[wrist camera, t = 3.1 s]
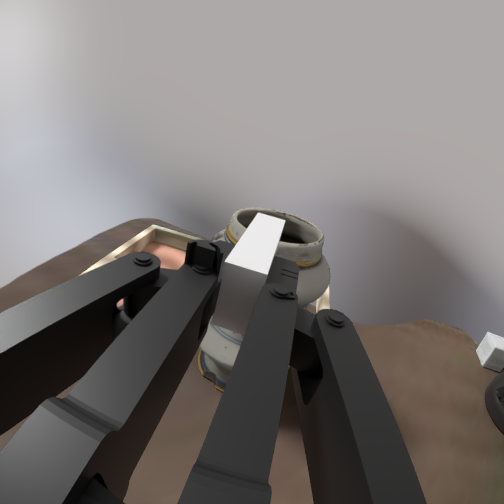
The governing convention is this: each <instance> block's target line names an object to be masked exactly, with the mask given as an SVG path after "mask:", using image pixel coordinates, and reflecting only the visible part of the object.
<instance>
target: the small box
mask: <svg viewBox="0 0 504 504" xmlns="http://www.w3.org/2000/svg"><path fill="white" fill-rule="evenodd" d="M476 352H477V354H478V357H479V359H480V362H481V365H482V367H485V368H488V369H492V370H495V371H498V372H501V370H502V369H503V368H504V338H502V337H500V336H497V335H495V334H492V333H490V332H487V334H486V336H485V337H484V339H483V341H482V342H481V344H480V345H479V347H478V348H477V350H476Z"/></svg>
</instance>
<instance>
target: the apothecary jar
mask: <svg viewBox="0 0 504 504" xmlns="http://www.w3.org/2000/svg"><path fill="white" fill-rule="evenodd" d="M258 212H259V213H262V214H266V215H269V216H272V217H276V218H279V219H282V220H285V224H284V227H283V231H282V234H281V237H280V241H279V244H278V248H277V251H276V254H275V256H277V257H281V258H284V259H287V260H291V261H294V262H296V263H297V265H298V267H299V276H298V284H297V291H296V294H297V295H298V303H299V304H300V306H301V307H303V308H304V309H305V310H306V307H307V305H308V304H309V303H311V302H314V301H315V300H317V299H318V298H320V297H321V296H322V295H323V294H324V293H325V291H326V290H327V288H328V286H329V283H330V269H329V266H328V263H327V261H326V259H325V257H324V256H323V254H322V246H323V243H324V234H323V232H322V231H321V230H320V229H319V228H318V227H316V226H315V225H314V224H312V223H310V222H309V221H307V220H305V219H302V218H300V217H298V216H295V215H293V214H290V213H286V212H282V211H278V210H273V209H267V208H243V209H240V210H238V211H236V212H235V213H234V214H233V216H232V218H231V221H230V224H229V225H228V226H227V228H226V229H224V230H222V231H221V232H219V233H218V234H216V235H215V236H214V237H213V238H212V240H211V241H212V242H216V241H219V240H222V241H225V242H228V243H232V244H235V245H236V244H237V242H238V241H239V240H240V238H241V237H242V235H243V234H244V232H245V231H246V229H247V228H248V227H249V225H250V224H251V222H252V221H253V219H254V218H255V216H256V215H257V214H258ZM212 316H213V315H212ZM211 321H212V317H211V319H210V321H209V325H208V330H207V333H206V335H205V336H204V338H203V340H202V342H201V344H200V347H201V350H200V353H199V355H198V365H199V369H200V371H201V373H202V375H203V376H204V377H206V378H208V379H210V380H212V381H213V383H214V386H215V388H217V389H218V390H220V391H222V392H223V391H224V389H225V386H226V383H227V381H228V378H229V375H230V373H231V370H232V367H233V365H234V362H235V359H236V357H237V354H238V351H239V349H240V346H241V343H242V340H243V338H244V335H243V334H240V333H237V332H234V331H231V330H228V329H225V328H222V327H219V326H216V325H213V324H211ZM289 367H291V366H289Z"/></svg>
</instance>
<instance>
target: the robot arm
mask: <svg viewBox="0 0 504 504" xmlns="http://www.w3.org/2000/svg"><path fill="white" fill-rule="evenodd" d="M284 224H285V220H282V219H279V218H276V217H272V216H269V215H266V214H262V213H259V212H258V214H257V215H256V216H255V218H254V219H253V221H252V222H251V224H250V225H249V227H248V228H247V229H246V231H245V232H244V234H243V235H242V237H241V238H240V240H239V241H238V242H237V244H236V245H235V244H232V243H228V242H225V241H222V240H219V241H216V242H212V241H208V240H199V239H197V240H191V241H189V242H188V243H187V249H186V255H185V261H184V264H183V265H182V266H181V267H180V268H179V269H178V270H176V269H167V268H160V266H161V261H160V259H159V258H158V257H157V256H156V255H154V254H151V253H149V252H144V251H141V252H133V253H130V254H127V255H125V256H123V257H120V258H118V259H116V260H113V261H111V262H109V263H107V264H104V265H102V266H100V267H98V268H95V269H93V270H91V271H89V272H86V273H84V274H82V275H80V276H77V277H75V278H73V279H71V280H69V281H67V282H64V283H62V284H60V285H58V286H56V287H54V288H51V289H49V290H47V291H45V292H43V293H41V294H39V295H37V296H35V297H33V298H30V299H28V300H26V301H24V302H22V303H20V304H18V305H16V306H14V307H12V308H10V309H8V310H6V311H4V312H2V313H0V435H2V434H3V433H5V432H7V431H8V430H9V429H11V428H12V427H14V426H15V425H16V424H18V423H19V422H21V421H22V420H23V419H25V418H26V417H28V416H29V415H30V414H32V413H33V414H32V415H31V416H30V417H29V418H28V420H27V421H26V422H25V423H24V424H23V426H22V427H21V428H20V429H19V430H18V432H17V433H16V434H15V435H14V437H13V438H12V439H11V440H10V442H9V443H8V444H7V445H6V447H5V448H4V449H3V450H2V452H1V453H0V504H125V503H124V502H123V499H124V497H125V495H126V492H127V489H128V485H129V480H130V477H131V475H132V473H133V471H134V469H135V467H136V465H137V463H138V461H139V459H140V458H141V456H142V454H143V452H144V450H145V448H146V446H147V444H148V442H149V440H150V439H151V437H152V435H153V433H154V431H155V429H156V427H157V425H158V423H159V421H160V420H161V418H162V416H163V414H164V412H165V410H166V408H167V406H168V404H169V403H170V401H171V399H172V397H173V395H174V393H175V391H176V389H177V387H178V386H179V384H180V382H181V380H182V378H183V376H184V374H185V372H186V370H187V369H188V367H189V365H190V363H191V361H192V359H193V357H194V355H195V353H196V352H197V350H198V348H199V346H200V344H201V342H202V340H203V338H204V336H205V335H206V333H207V330H208V325H209V321H210V319H211V317H212V321H211V324H213V325H216V326H219V327H222V328H225V329H228V330H231V331H234V332H237V333H240V334H243V335H244V338H243V340H242V343H241V346H240V349H239V351H238V354H237V357H236V359H235V362H234V365H233V367H232V370H231V373H230V375H229V378H228V381H227V383H226V386H225V389H224V391H223V394H222V397H221V399H220V402H219V404H218V407H217V410H216V412H215V415H214V418H213V420H212V423H211V425H210V428H209V430H208V433H207V436H206V438H205V441H204V443H203V446H202V448H201V451H200V453H199V456H198V458H197V461H196V463H195V464H194V466H193V468H192V470H191V472H190V475H189V477H188V479H187V482H186V484H185V487H184V489H183V492H182V494H181V496H180V499H179V501H178V504H270V501H271V494H272V492H271V486H270V485H269V484H268V479H269V473H270V468H271V463H272V458H273V453H274V448H275V443H276V438H277V433H278V427H279V422H280V416H281V411H282V405H283V399H284V393H285V387H286V381H287V375H288V369H289V366H291V367H292V371H291V374H292V379H293V385H294V390H295V396H296V402H297V407H298V413H299V418H300V424H301V430H302V436H303V441H304V447H305V453H306V459H307V465H308V471H309V477H310V483H311V489H312V495H313V501H314V504H427V503H426V500H425V497H424V495H423V492H422V489H421V486H420V483H419V480H418V478H417V475H416V472H415V469H414V467H413V464H412V461H411V459H410V456H409V453H408V451H407V448H406V446H405V443H404V441H403V438H402V435H401V433H400V430H399V428H398V425H397V423H396V421H395V418H394V416H393V413H392V411H391V408H390V406H389V404H388V401H387V399H386V397H385V394H384V392H383V390H382V387H381V385H380V383H379V380H378V378H377V376H376V374H375V371H374V369H373V367H372V365H371V362H370V360H369V358H368V356H367V354H366V351H365V349H364V347H363V345H362V343H361V341H360V338H359V336H358V334H357V332H356V330H355V328H354V326H353V324H352V322H351V321H350V319H349V318H348V317H347V316H345V315H344V314H343V313H341V312H339V311H337V310H332V309H321V310H319V311H318V312H317V313H316V315H315V314H313V313H311V312H309V311H307V310H305V309H304V308H303V307H301V306H300V304H299V303H298V295H297V294H296V291H297V284H298V276H299V267H298V265H297V263H296V262H294V261H291V260H287V259H284V258H281V257H277V256H275V254H276V251H277V248H278V244H279V241H280V237H281V234H282V231H283V227H284ZM122 299H123V305H121V306H120V307H117V303H118V302H119V301H120V300H122ZM212 315H213V316H212ZM82 377H83V378H82ZM81 378H82V379H81ZM79 379H81V380H80V381H79V382H78V384H77V385H76V386H75V387H74V388H73V390H72V391H71V392H70V393H69V394H68V395H67V396H66V397H65V398H63V399H60V398H56V396H57V395H58V394H60V393H61V392H62V391H64V390H65V389H67V388H68V387H69V386H71V385H72V384H74V383H75V382H76V381H78V380H79ZM485 401H486V406H487V409H488V411H489V414H490V416H491V418H492V419H493V421H494V422H495V424H496V425H497V427H498V428H499V429H500V430H501V431H502V432H503V433H504V371H503V372H502V373H500V374H499V375H498V376H496V377H495V378H494V380H493V381H492V382H491V383H490V385H489V386H488V387H487V389H486V392H485Z"/></svg>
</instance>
